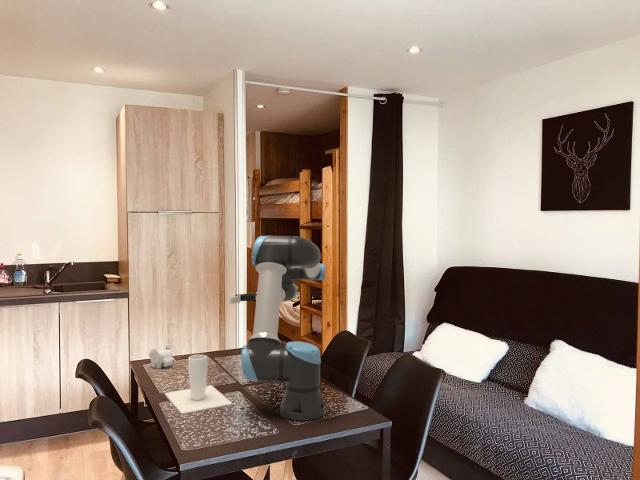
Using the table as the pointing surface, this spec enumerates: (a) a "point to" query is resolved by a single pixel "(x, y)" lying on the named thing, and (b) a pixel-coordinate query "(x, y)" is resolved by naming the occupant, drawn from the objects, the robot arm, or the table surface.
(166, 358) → the elephant figurine
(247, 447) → the table surface
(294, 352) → the robot arm
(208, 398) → the felt placemat
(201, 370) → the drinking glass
